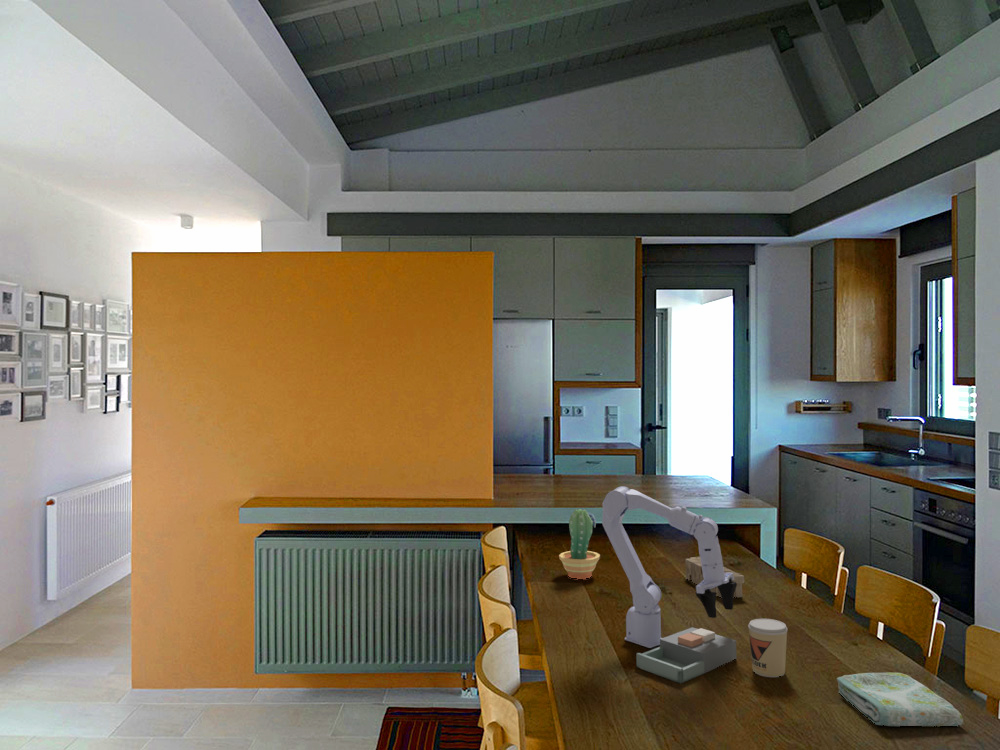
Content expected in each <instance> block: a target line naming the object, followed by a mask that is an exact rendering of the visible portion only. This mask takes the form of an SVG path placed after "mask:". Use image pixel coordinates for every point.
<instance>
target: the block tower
mask: <svg viewBox="0 0 1000 750" xmlns="http://www.w3.org/2000/svg"><path fill="white" fill-rule="evenodd" d="M684 560H685V580H687V579H688V580H687V581H689V580H692V581H691V583H692V582H693V583H692V584H694V583H695V584H694V585H696V584H697V585H699V584H700V583H701V582H702V581H703V580H704V577H703V571H702V566H701V560H700V556H694V557H689V558H685V559H684ZM723 567H724V573H733V575H734V580H732V581H733V582H736V583H737V586H736V589H735V592H734V597H735V598H736V597H737V598H743V584H745V576H744V575H742V574H741V573H738V572H735V571H733V570H732V569H729V568H727V567H725V566H723ZM697 585H696V586H697ZM710 591H711V592H715V593H717V594H716V595H717V596H719V597H721V594H720V591H719V589H718V587H714V588H712V589H710ZM717 596H716V597H717ZM719 597H718V598H719ZM721 598H722V597H721ZM721 598H720V599H721Z"/></svg>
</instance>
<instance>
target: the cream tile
mask: <svg viewBox="0 0 1000 750" xmlns="http://www.w3.org/2000/svg"><path fill="white" fill-rule="evenodd" d="M696 629H697V630H695V631H692V632H691V634H694V635H697V636H700V637H702V638H703V642H706V641H709V640H711V639H714V638H715V634H716V631H713V630H709V629H705V628H701V627H700V628H696Z"/></svg>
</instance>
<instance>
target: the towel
mask: <svg viewBox="0 0 1000 750" xmlns="http://www.w3.org/2000/svg"><path fill="white" fill-rule="evenodd" d="M836 681H837V683H838V684H837V686H838V689H839V690H838V694H839V693H840V694H841V695H842V696H843V697H844V698H845V699H846V701H847V702H848V701H849V702H850V703H851V704H852V705H851V704H850V703H849V702H848V703H849V704H850V705H851V706H853V705H854V706H855V707H856V708H857V709H858V710H859V711H860V712H862V713H863V714H864V715H865V716H867V717H868V718H869V719H870V720H871V721H872V722H873V724H874V723H875V724H874V725H875V726H883V725H884V727H900V726H922V727H934V726H935V727H936V726H937V727H940V726H957V727H959V726H958V725H960V726H962V725H963V723H964V718H963V715H962V714H961V713H960V711H959V709H956V708H955V706H954V705H953V704H951V703H950V701H947V700H946V699H945V698H943V697H942V696H940V695H938V694H937V693H936V692H934V691H932V689H929V687H927V686H926V685H925V684H923V683H921V682H919V681H918V680H916V679H914V678H912V677H911V676H910V675H908V674H904V673H902V672H862V673H860V672H859V673H855V674H844V675H842V676H839V677H836ZM840 694H839V695H840ZM841 695H840V696H841ZM843 697H842V698H843ZM844 698H843V699H844ZM845 699H844V700H845ZM854 706H853V707H854ZM855 707H854V708H855ZM856 708H855V709H856ZM857 709H856V710H857ZM858 710H857V711H858ZM859 711H858V712H859ZM860 712H859V713H860ZM864 715H863V716H864ZM865 716H864V717H865ZM871 721H870V722H871ZM872 722H871V723H872Z"/></svg>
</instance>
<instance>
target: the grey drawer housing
mask: <svg viewBox="0 0 1000 750" xmlns="http://www.w3.org/2000/svg"><path fill="white" fill-rule="evenodd" d="M697 629H698V628H695V627H693V626H691V627H689V628H687V629H685V630H680V631H678V632H675V633H672V634H670V635H668V636H665V637H661V638H662V639H660V645H659V647H662V648H663V658H666V659H669V660H672V661H675V662H678V663H681V664H683V665H686V666H688V665H691V664H693V663H696V662H698V661H700V660H701V661H704V674H706V673H708V672H711V671H713V670H715V669H717V667H718V668H720V667H721V665H722V666H724V665H726V664H725V663H727V664H728V662H729V663H731V662H733V661H732V660H734V659H736V660H737V640H736V639H733V638H730V637H726V636H722V635H719V634H716V633H715V638H714V639H711V640H709V641H706V642H703V643H701V644H699V645H696V646H693V647H690V646H687V645H684V644H681V643H678V637H679V636H681V635H684V634H687V633H690V634H691V632H692V631H695V630H697ZM730 661H731V662H730ZM734 661H735V660H734ZM723 664H724V665H723ZM719 666H720V667H719Z"/></svg>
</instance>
